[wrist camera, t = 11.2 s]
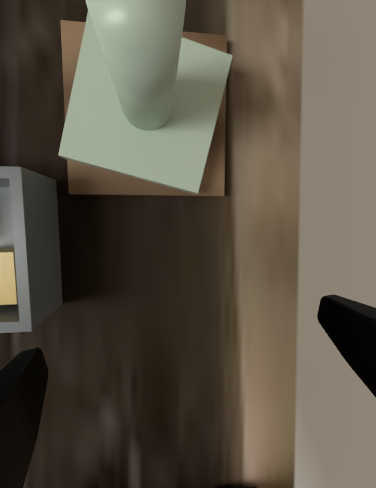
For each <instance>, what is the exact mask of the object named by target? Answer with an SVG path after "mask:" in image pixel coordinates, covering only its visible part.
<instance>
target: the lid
mask: <svg viewBox="0 0 376 488" xmlns="http://www.w3.org/2000/svg"><path fill="white" fill-rule="evenodd" d="M86 4H87V7H88V14H87V19H86V24H85V29H84V34H83V39H82V43H81V48H80V53H79V58H78V63H77V67H76V72H75V77H74V82H73V87H72V91H71V96H70V101H69V106H68V111H67V116H66V120H65V125H64V130H63V135H62V140H61V144H60V149H59V154H58V155H59V156H60V157H62V158H64V159H68V160H71V161H75V162H79V163H82V164H86V165H90V166H93V167H97V168H101V169H104V170H108V171H112V172H115V173H119V174H123V175H126V176H130V177H134V178H137V179H141V180H145V181H148V182H152V183H156V184H159V185H163V186H167V187H170V188H174V189H178V190H181V191H185V192H189V193H192V194H198V191H199V187H200V183H201V179H202V175H203V171H204V168H205V164H206V160H207V156H208V152H209V148H210V144H211V140H212V136H213V132H214V128H215V124H216V120H217V116H218V112H219V108H220V104H221V100H222V96H223V92H224V88H225V84H226V80H227V76H228V72H229V68H230V64H231V60H232V56H233V55H230V54H227V53H224V52H222V51H219V50H216V49H213V48H211V47H208V46H205V45H202V44H200V43H197V42H194V41H191V40H189V39H186V38H183V37H182V31H183V23H184V15H185V7H186V0H86Z"/></svg>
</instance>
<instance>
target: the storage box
mask: <svg viewBox="0 0 376 488" xmlns="http://www.w3.org/2000/svg"><path fill="white" fill-rule="evenodd" d="M62 304H63V299H62V280H61V261H60V242H59V223H58V203H57V184H56V180H55V179H52V178H49V177H47V176H44V175H41V174H39V173H36V172H33V171H31V170H28V169H25V168H22V167H6V166H0V333H10V332H30V331H33V330H34V329H35V328H36V327H37V326H38V325H40V324H41V323H42V322H43V321H44V320H45V319H46V318H47V317H48V316H50V315H51V314H52V313H53V312H54V311H55V310H56V309H57V308H59V307H60V306H61V305H62Z"/></svg>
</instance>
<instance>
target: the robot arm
mask: <svg viewBox="0 0 376 488" xmlns="http://www.w3.org/2000/svg"><path fill="white" fill-rule="evenodd" d="M317 317H318V321H319V323H320V324H321V326H322V327H323V329H324V330H325V332H326V333H327V334H328V336H329V337H330V339H331V340H332V342H333V343H334V345H335V346H336V347H337V349H338V350H339V352H340V353H341V355H342V356H343V357H344V359H345V360H346V362H347V363H348V364H349V365H350V367H351V368H352V369H353V370H354V372H355V373H356V374H357V375H358V376H359V378H360V379H361V380H362V381H363V382H364V384H365V385H366V386H367V387H368V389H369V390H370V391H371V392H372V393H373V395H374V396H375V397H376V308H374V307H371V306H368V305H365V304H362V303H359V302H356V301H352V300H349V299H346V298H343V297H340V296H337V295H328V296H324V297H322V298H321V301H320V305H319V310H318V315H317ZM47 380H48V368H47V365H46V362H45V359H44V356H43V352H42V350H41V349H40V348H38V347H36V348H30V349H25V350H22V351H21V352H20V353H18V354H17V355H16V356H15V357H14V358H13V359H12V360H10V361H9V362H8V363H7V364H6V365H5V366H4V367H2V368H1V369H0V488H23V485H24V482H25V479H26V475H27V472H28V468H29V465H30V461H31V458H32V454H33V451H34V447H35V443H36V439H37V435H38V430H39V425H40V419H41V413H42V408H43V402H44V397H45V391H46V386H47ZM252 488H256V487H252Z"/></svg>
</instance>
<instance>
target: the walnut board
mask: <svg viewBox="0 0 376 488" xmlns="http://www.w3.org/2000/svg"><path fill="white" fill-rule="evenodd" d="M85 24H86V22H75V21H64V20H61V40H62V61H63V82H64V103H65V120H66V116H67V111H68V106H69V101H70V96H71V91H72V87H73V82H74V77H75V72H76V67H77V63H78V58H79V53H80V48H81V43H82V39H83V34H84V29H85ZM182 37H183V38H186V39H189V40H191V41H194V42H197V43H200V44H202V45H205V46H208V47H211V48H213V49H216V50H219V51H222V52H224V53H227V36H225V35H214V34H204V33H193V32H182ZM225 128H226V84H225V88H224V92H223V96H222V100H221V104H220V108H219V112H218V116H217V120H216V124H215V128H214V132H213V136H212V140H211V144H210V148H209V152H208V156H207V160H206V164H205V168H204V171H203V175H202V179H201V183H200V187H199V191H198V194H192V193H189V192H185V191H181V190H178V189H174V188H170V187H167V186H163V185H159V184H156V183H152V182H148V181H145V180H141V179H137V178H134V177H130V176H126V175H123V174H119V173H115V172H112V171H108V170H104V169H101V168H97V167H93V166H90V165H86V164H82V163H79V162H75V161H71V160H68V159H67V167H68V188H69V194H71V195H130V196H204V197H223V196H224V183H225Z"/></svg>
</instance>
